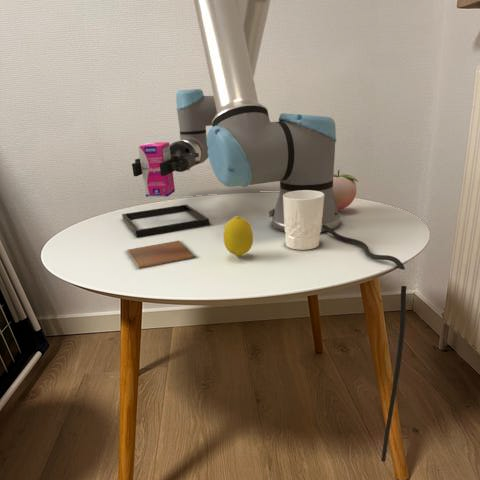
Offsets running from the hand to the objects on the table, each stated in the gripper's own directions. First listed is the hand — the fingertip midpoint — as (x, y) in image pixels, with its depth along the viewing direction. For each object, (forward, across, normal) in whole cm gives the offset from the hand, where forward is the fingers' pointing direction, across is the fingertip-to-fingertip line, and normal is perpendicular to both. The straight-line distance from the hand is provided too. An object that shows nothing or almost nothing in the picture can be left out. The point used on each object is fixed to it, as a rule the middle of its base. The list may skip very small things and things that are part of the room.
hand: (147, 169), depth 97 cm
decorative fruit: (-17, -42, -14) cm, 47 cm away
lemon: (+17, -25, -14) cm, 33 cm away
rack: (-5, 0, -13) cm, 14 cm away
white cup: (+9, -36, -14) cm, 39 cm away
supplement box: (-5, 0, -7) cm, 8 cm away
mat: (+17, -8, -14) cm, 23 cm away
